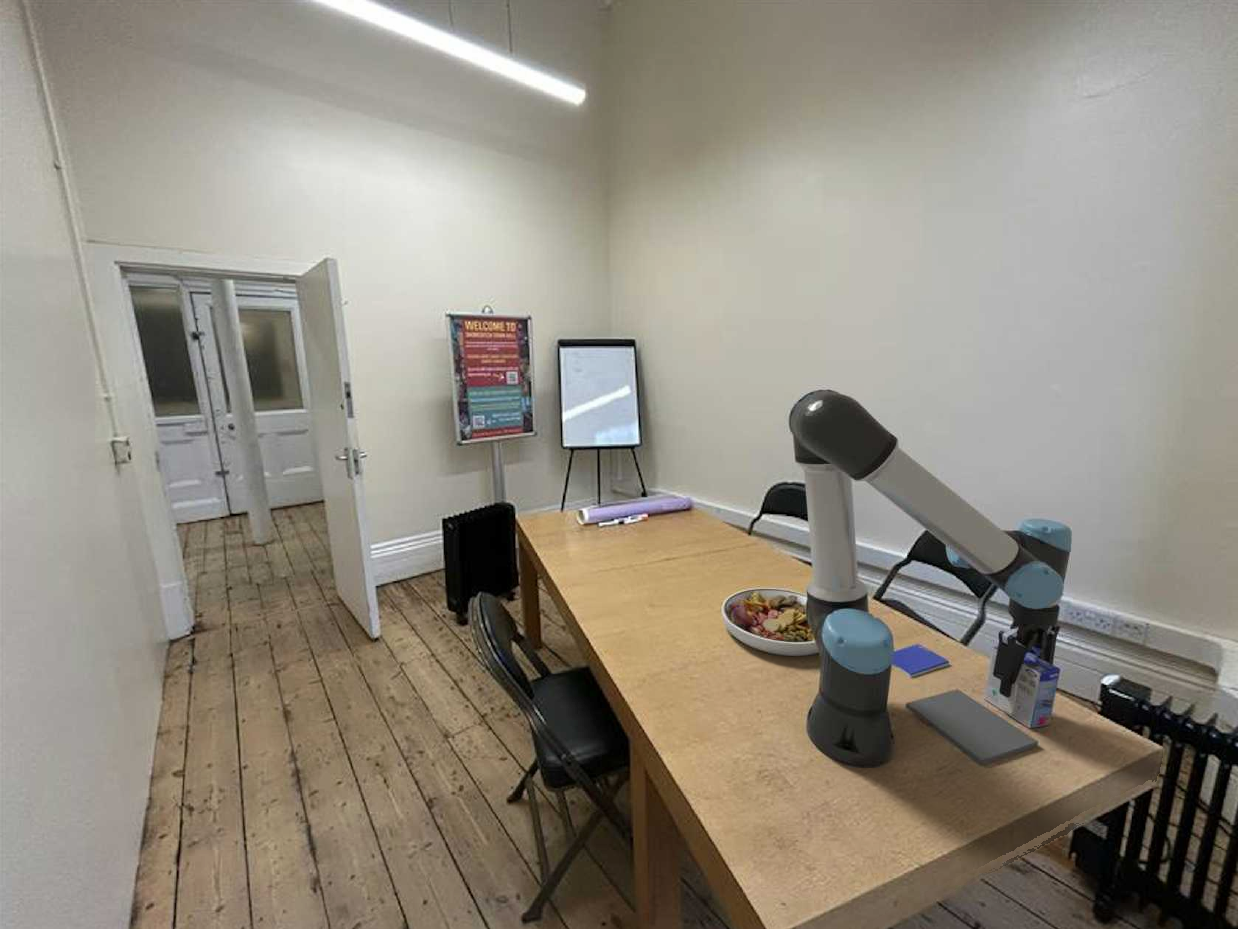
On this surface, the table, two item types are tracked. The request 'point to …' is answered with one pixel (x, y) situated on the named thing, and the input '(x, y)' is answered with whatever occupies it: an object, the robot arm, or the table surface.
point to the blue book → (917, 660)
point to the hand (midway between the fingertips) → (1017, 705)
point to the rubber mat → (971, 726)
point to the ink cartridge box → (1028, 689)
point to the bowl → (770, 621)
